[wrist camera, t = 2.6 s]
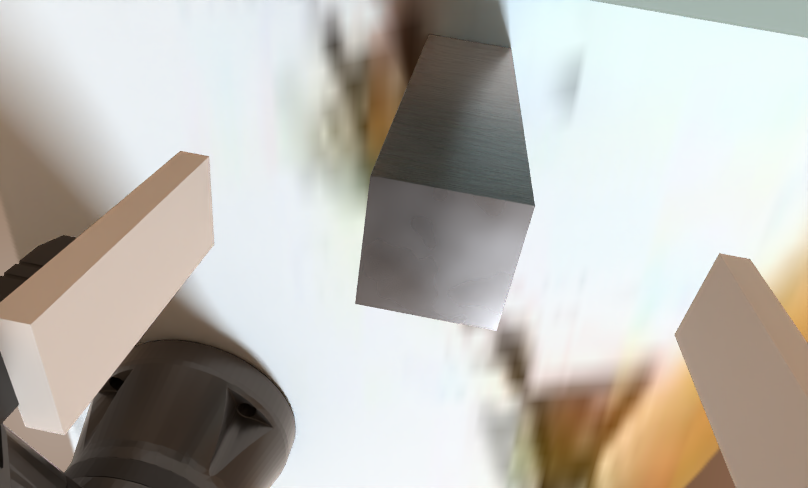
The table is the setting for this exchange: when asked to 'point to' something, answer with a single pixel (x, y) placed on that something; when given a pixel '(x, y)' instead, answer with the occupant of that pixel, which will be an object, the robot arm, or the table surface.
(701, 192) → the table surface
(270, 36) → the table surface
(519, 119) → the brushed steel bar
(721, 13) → the grey-green open box
